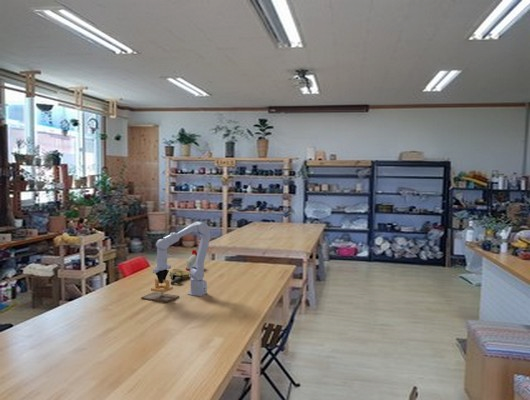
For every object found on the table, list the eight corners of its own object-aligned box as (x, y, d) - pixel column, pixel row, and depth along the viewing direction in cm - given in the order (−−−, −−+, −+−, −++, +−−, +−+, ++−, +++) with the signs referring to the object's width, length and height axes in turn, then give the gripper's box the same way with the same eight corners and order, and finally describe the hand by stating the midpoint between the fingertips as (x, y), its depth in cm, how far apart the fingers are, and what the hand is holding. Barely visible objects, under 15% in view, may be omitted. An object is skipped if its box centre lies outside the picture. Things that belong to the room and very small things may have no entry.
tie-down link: (173, 289, 238) (173, 279, 237) (163, 292, 229) (163, 282, 229) (160, 287, 241) (160, 277, 241) (150, 290, 233) (151, 280, 232)
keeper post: (163, 297, 236) (163, 291, 236) (162, 298, 234) (162, 292, 234) (161, 297, 236) (161, 291, 236) (159, 297, 235) (160, 292, 235)
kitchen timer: (198, 266, 323) (198, 248, 322) (207, 269, 312) (207, 250, 311) (182, 268, 314) (182, 249, 313) (191, 272, 303) (191, 252, 303)
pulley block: (164, 275, 265) (173, 266, 295) (162, 284, 265) (171, 273, 295) (185, 279, 265) (192, 269, 295) (184, 287, 266) (190, 276, 296)
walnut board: (179, 297, 238) (179, 295, 238) (167, 303, 227) (167, 301, 227) (154, 293, 245) (154, 292, 245) (141, 298, 234) (141, 297, 234)
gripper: (163, 257, 243) (163, 279, 243) (148, 261, 229) (148, 284, 230) (173, 258, 240) (173, 280, 241) (158, 262, 227) (158, 286, 227)
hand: (161, 282), depth 235 cm, fingers closed on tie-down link
